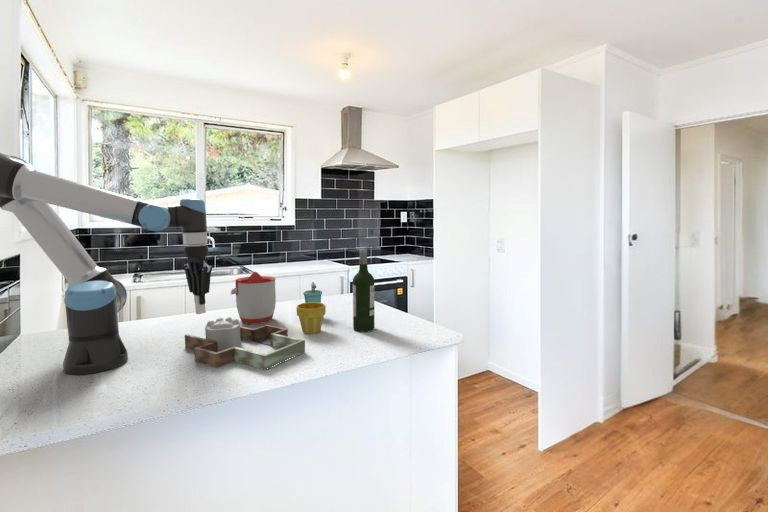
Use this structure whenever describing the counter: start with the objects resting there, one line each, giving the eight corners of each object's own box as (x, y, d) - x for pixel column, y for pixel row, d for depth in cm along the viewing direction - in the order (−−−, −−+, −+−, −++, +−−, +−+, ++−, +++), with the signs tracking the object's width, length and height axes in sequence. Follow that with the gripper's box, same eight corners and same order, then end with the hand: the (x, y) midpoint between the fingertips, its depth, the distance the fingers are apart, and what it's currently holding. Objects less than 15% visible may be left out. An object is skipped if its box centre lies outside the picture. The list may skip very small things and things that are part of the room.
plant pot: (320, 336, 141) (319, 309, 140) (292, 334, 143) (291, 307, 142) (329, 328, 151) (329, 302, 150) (303, 326, 153) (303, 301, 152)
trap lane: (167, 352, 125) (166, 340, 124) (240, 329, 149) (240, 319, 148) (248, 377, 106) (247, 363, 106) (317, 346, 130) (317, 335, 129)
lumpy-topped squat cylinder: (204, 353, 125) (202, 326, 124) (209, 340, 137) (208, 315, 136) (239, 350, 127) (238, 323, 126) (242, 337, 140) (240, 313, 139)
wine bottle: (377, 330, 147) (377, 249, 144) (357, 333, 144) (356, 250, 141) (370, 325, 154) (369, 247, 151) (350, 327, 151) (349, 248, 148)
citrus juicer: (230, 318, 164) (227, 270, 162) (273, 314, 171) (271, 267, 169) (233, 328, 150) (230, 276, 148) (280, 323, 157) (278, 273, 155)
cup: (325, 321, 160) (325, 284, 159) (306, 322, 158) (305, 285, 156) (320, 312, 173) (319, 278, 172) (302, 314, 171) (301, 279, 169)
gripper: (217, 244, 135) (222, 313, 138) (194, 243, 141) (198, 308, 144) (197, 246, 128) (202, 318, 131) (173, 245, 135) (179, 313, 138)
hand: (200, 313), depth 138 cm, fingers closed
